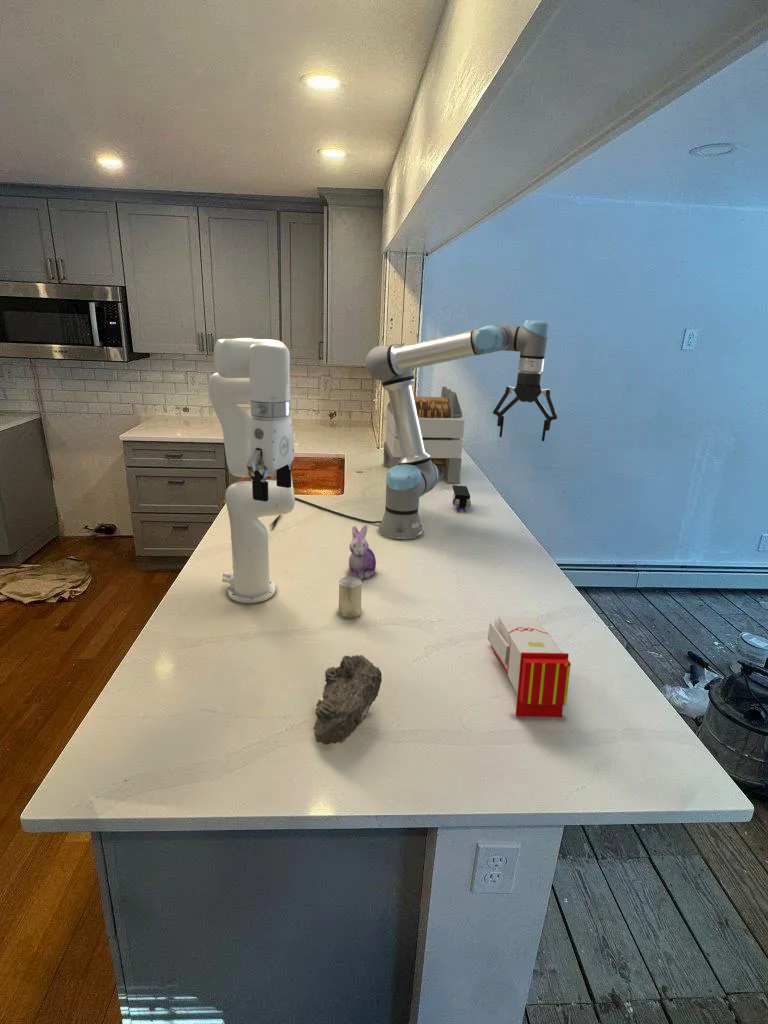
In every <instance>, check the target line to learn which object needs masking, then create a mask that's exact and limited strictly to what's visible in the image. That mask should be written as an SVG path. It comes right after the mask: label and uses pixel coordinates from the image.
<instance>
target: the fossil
mask: <svg viewBox="0 0 768 1024" xmlns="http://www.w3.org/2000/svg"><path fill="white" fill-rule="evenodd" d="M324 673H325V675H324V677H325V679H324V681H325V684H324V687H323V692H322V700H321V699H318V700H317V702H316V705H315V706H316V707H317V708H316V709H315V711H316V712H315V716H316V717H315V721H314V726H313V728H312V729H313V730H314V737H315V741H316V742H317V743H322V744H323V745H325V746H327V745H331V744H337V743H339V744H342V743H344V742H345V741H346V740H347V739H348V738H349V737H350V736H351V735H352V734H353V733H354V732H355V731H356V730H357V728H358V727H359V726H360V725H361V724H363V722H364V720H365V719H366V717H367V714H369V711H370V709H371V707H372V705H373V702H376V699H377V697H379V692H380V689H381V685H382V679H383V678H382V677H383V675H382V672H381V670H380V668H379V667H378V666H375V665H374V663H373V662H371V661H370V660H369V659H368V658H366V657H365V656H364V655H362V654H360V655H358V654H356V655H352V656H350V655H344V656H343V657H342V659H341V661H340V664H339V666H336V667H335V666H331V667H328V668H326V670H325V672H324Z"/></svg>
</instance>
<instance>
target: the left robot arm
mask: <svg viewBox="0 0 768 1024" xmlns="http://www.w3.org/2000/svg"><path fill="white" fill-rule="evenodd" d="M213 363H214V367H215V370H216V372H215V373H213V374H212V375H210V377H209V378H208V386H207V387H208V395H209V400H210V403H211V405H212V408H213V411H214V413H215V415H216V417H217V419H218V421H219V424H220V426H221V429H222V436H223V437H222V438H223V444H224V452H225V460H226V466H227V469H228V473H230V474H231V475H232V476H233V477H237V478H249V479H250V480H241V481H237V482H234V483H232V484H230V485H228V487H227V488H226V491H225V495H224V497H225V505H226V508H227V509H226V510H227V514H228V518H229V527H230V540H231V541H230V542H231V559H232V572H229V571H224V572H223V573H222V579H221V582H222V583H225V584H229V587H228V589H227V594H228V597H229V598H230V599H231V600H233V601H235V602H238V603H242V604H253V603H254V604H255V603H261V602H264V601H266V600H268V599H270V598H272V597H273V596H274V595H275V593H276V584H275V583H274V582H272V581H270V553H269V552H270V550H269V549H270V547H269V532H268V530H267V529H268V528H267V527H266V526H265V525H264V523H263V522H262V521H261V520H260V519H259V518H264V517H272V516H279V515H280V516H281V515H282V516H283V515H288V514H290V513H292V512H293V510H294V508H295V506H296V505H295V504H296V499H295V497H296V496H295V495H296V494H295V488H294V483H293V481H294V480H293V476H292V468H293V464H292V462H294V459H295V441H294V432H293V431H294V430H293V423H292V422H293V421H292V417H291V374H290V373H291V372H290V371H291V370H290V369H291V368H290V367H291V354H290V349H289V348H288V346H286V345H285V343H284V342H283V341H280V340H277V339H271V338H269V339H268V338H252V337H237V338H221V339H217V341H216V342H215V344H214V348H213ZM238 405H250V415H249V413H247V412H246V411H245V410H244V409H243V408H241V407H240V406H238ZM268 476H269V477H271V478H269V479H268Z"/></svg>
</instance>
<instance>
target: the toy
mask: <svg viewBox="0 0 768 1024" xmlns="http://www.w3.org/2000/svg"><path fill="white" fill-rule="evenodd" d="M488 625H489V627H488V633H487V641H488V642H489V644H490V646H491V647H490V648H491V649H492V650H493V652H494V654H495V656H496V658H497V659H498V660H499V662H500V664H501V666H502V668H503V669H504V671H505V673H506V674H507V676H508V678H509V680H510V682H511V685H512V686H513V689H514V690H515V693H516V704H515V717H516V718H517V717H518V718H519V717H520V718H521V717H522V718H563V710H564V705H567V701H568V692H569V685H570V684H569V683H570V676H571V675H570V674H571V666H572V664H571V661H570V660H569V655H570V654H569V653H568V652H563V651H562V649H561V648H560V647H559V646H558V644H557V643H556V642H555V640H554V639H553V638H552V636H551V635H550V634H549V632H548V631H547V629H546V628H545V627H544V626H543V624H542V622H541V621H540V620H539V619H538V618H537V616H498V618H496V619H494V623H493V622H489V624H488Z"/></svg>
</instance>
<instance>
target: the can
mask: <svg viewBox="0 0 768 1024" xmlns="http://www.w3.org/2000/svg"><path fill="white" fill-rule="evenodd" d="M362 584H363V581H362V579H359V578H356V577H350V576H344V577H342V578H340V579H339V582H338V614H339V616H340V617H342V618H346V619H355V618H358V617H359V616H360V615H361V613H362V590H363V589H362V586H363V585H362Z"/></svg>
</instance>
